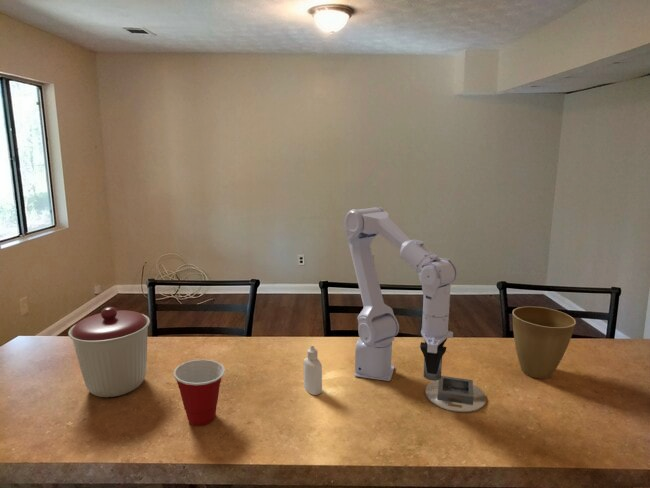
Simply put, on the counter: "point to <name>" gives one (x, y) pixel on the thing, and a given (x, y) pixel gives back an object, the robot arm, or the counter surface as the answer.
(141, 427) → the counter surface
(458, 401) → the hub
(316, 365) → the eye dropper bottle
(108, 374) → the canister
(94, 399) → the counter surface
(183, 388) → the plastic cup
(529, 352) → the plant pot
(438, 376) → the shaft
